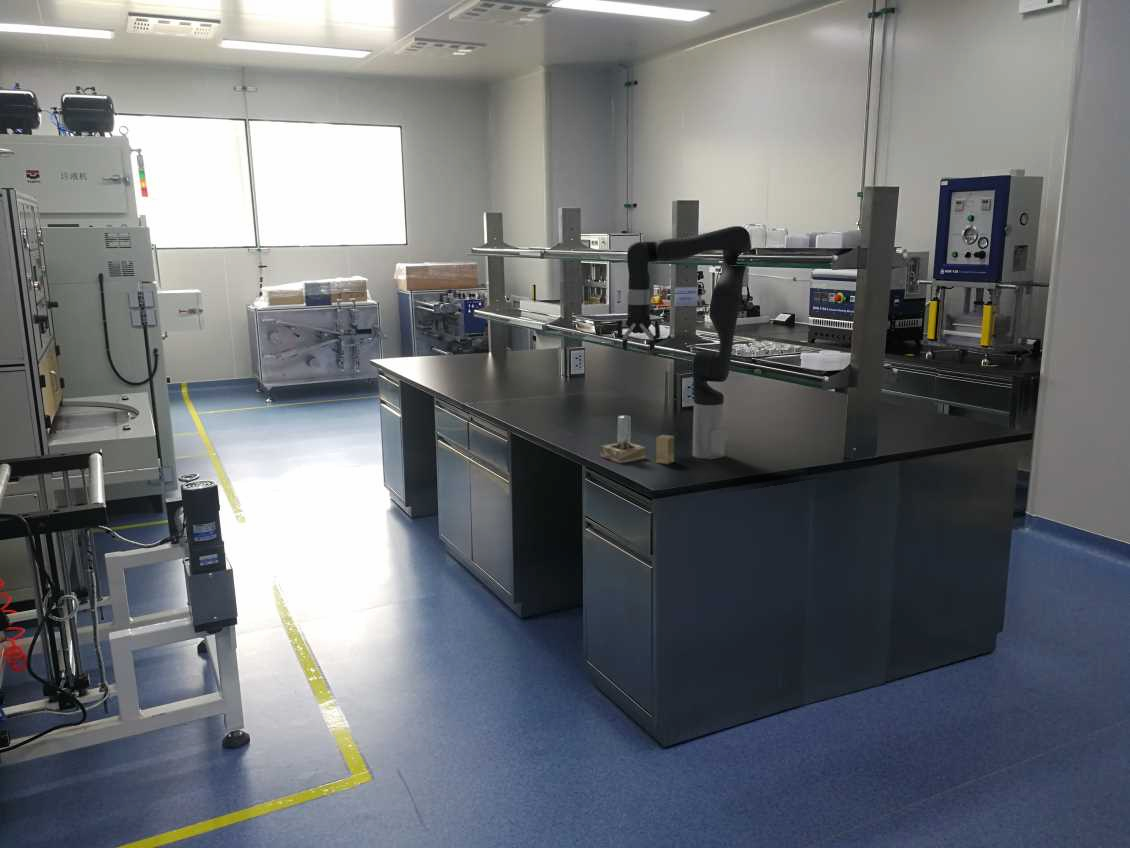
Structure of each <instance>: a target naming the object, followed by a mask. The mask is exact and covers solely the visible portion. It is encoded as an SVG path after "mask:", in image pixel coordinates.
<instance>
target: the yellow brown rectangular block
mask: <svg viewBox="0 0 1130 848" xmlns="http://www.w3.org/2000/svg"><path fill="white" fill-rule="evenodd" d="M655 445H656V446H655V447H656V449H655V450H656V451H655V452H656V454H655V455H656V456H655V463H658V464H664V465H670V464H672V463H673V462H675V459H674V458H675V436H674V435H668V434H667V435H666V434H661V435H659V436H656V444H655Z"/></svg>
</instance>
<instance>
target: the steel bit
mask: <svg viewBox="0 0 1130 848" xmlns="http://www.w3.org/2000/svg"><path fill="white" fill-rule="evenodd" d="M631 419H632V417H631V415H626V414H625V415H623V414H622V415H617V440H616V441H617V442H616V443H617V449H620V450H624V449H629V448H630V443H631V430H632V429H631V424H632V423H631V421H632V420H631Z"/></svg>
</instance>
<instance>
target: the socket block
mask: <svg viewBox="0 0 1130 848" xmlns="http://www.w3.org/2000/svg"><path fill="white" fill-rule="evenodd" d="M600 457H601V458H603V457H604V459H607V460H610V461H613V462H616V463H619V464H623V463H628V462H633V461H637V460H642V459H646V447H645V446H643V445H639V444H636V443H632V442H630V448H629V449H624V450H620V449H617V442H614V443H610V444H609V443H608V444H604V445H600Z"/></svg>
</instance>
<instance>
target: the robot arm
mask: <svg viewBox="0 0 1130 848" xmlns="http://www.w3.org/2000/svg"><path fill="white" fill-rule="evenodd" d="M749 249H751V250H752V241H751V235H750V233H749V231H748V229H746V228H745V227H743V226H739V225H735V226H729V227H725V228H722V229H717V230H713V231H710V232H704V233H700V234H697V235H692V236H685V237H676V238H667V239H666V238H665V239H661V240H654V241H650V240H649V241H636V242H633V243H632V244H630V246H628V250H627V253H626V257H627V259H626V261H627V271H628V290H627V291H628V293H627V302H626V303H627V320H624V319H619V320H618V322H617V334H616V337H617V338H618V339H621V340H622V349H623V350H624V352H628V350H629V348H628V347H629V345H628V344H629V339H628V338H629V336H630V335H631V334H632V333H633V334H645V335H646V336H647V337H648V339H649V352H650V353H651V352H653V350H655V345H656V343H655V340H657V339H660V338H661V328H660V320H651V293H650V291H651V290H650V288H651V286H650V284H651V282H650V281H651V279H650V273H649V270H648V269H649V268H648V267H649V263H653V262H670V261H680V260H685V259H689V258H691V257H694V256H696V255H698V254H702V253H705V252H707V251H709V252H710V251H717V250H718V251H722V265H721V271H720V276H719V279H718V281H717V283H716V284H715V286H714V288H713V291H712V293H711V299H710V303H709V308H708V315H709V318H710V320H711V323H712V325H713V327H714V329H715V332H716V333H717V336H718V339H719V351H710V350H709V351H706V350H705V351H703V350H699V351H697V352H695V354H694V357H693V361H692V380H693V381H692V385H693V387H692V388H693V390H692V391H693V418H692V420H693V422H692V456H693V457H694V458H696V459H697V458H698V459H703V460H715V459H720V458H724V457H725V445H726V442H725V441H726V428H725V426H724V405H725V404H724V402H725V401H724V398H725V396H724V394H723V392H721V391H718V390H716V389H714V388H713V387H712V386H710V385H709V384H708V382H716V383H717V382H718V383H723V382H726V380H727V379H728V377H729V374H730V369H731V362H732V355H733V354H732V352H733V344H734V337H735V333H736V332H735V331H736V326H737V321H738V318H739V313H740V307H741V302H742V294H743V288H744V287H743V286H744V285H743V284H744V275H745V272H746V268H747V265H748V263H747V264H737V263H736V262H741V261H737V258H738V256H739V254H741V253H743V252H745V251H749ZM730 265H746V266H730ZM625 325H626V326H627V328H628V329H627V331H626V332H625V334H623V327H625ZM651 325H652V327H653V328H654V333H655V334H654V335H653V332H652V331H651V329H649V328H650V326H651Z"/></svg>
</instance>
